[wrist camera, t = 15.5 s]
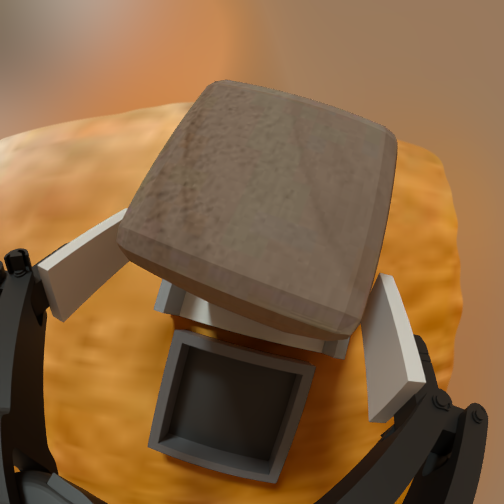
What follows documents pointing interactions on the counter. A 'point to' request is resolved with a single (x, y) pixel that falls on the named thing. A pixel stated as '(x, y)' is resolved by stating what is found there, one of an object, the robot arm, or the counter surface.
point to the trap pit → (229, 406)
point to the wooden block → (268, 209)
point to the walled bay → (237, 321)
